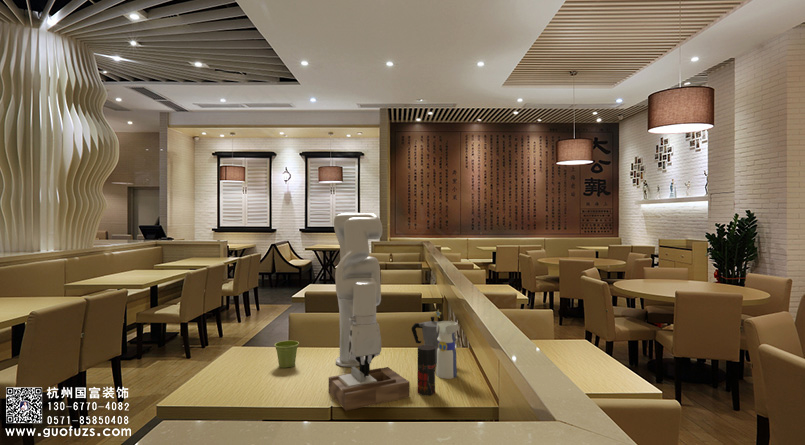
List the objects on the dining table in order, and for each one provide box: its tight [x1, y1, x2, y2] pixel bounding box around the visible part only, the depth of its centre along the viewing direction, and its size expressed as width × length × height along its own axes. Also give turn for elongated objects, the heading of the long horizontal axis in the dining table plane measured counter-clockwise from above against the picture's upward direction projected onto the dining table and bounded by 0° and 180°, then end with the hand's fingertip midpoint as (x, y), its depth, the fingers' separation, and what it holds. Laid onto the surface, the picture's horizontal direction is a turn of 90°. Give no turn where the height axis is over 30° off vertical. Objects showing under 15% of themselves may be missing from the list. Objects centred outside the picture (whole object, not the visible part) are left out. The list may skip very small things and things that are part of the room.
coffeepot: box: [411, 316, 439, 365], centre depth 181 cm, size 15×9×18 cm, turn 103°
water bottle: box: [435, 308, 460, 380], centre depth 164 cm, size 8×9×25 cm
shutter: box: [339, 366, 377, 387], centre depth 144 cm, size 10×10×4 cm
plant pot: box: [273, 340, 300, 369], centre depth 174 cm, size 9×9×9 cm
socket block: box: [328, 366, 410, 412], centre depth 146 cm, size 16×22×6 cm
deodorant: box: [416, 344, 436, 397], centre depth 148 cm, size 6×6×15 cm
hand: (364, 375), depth 145 cm, fingers closed
